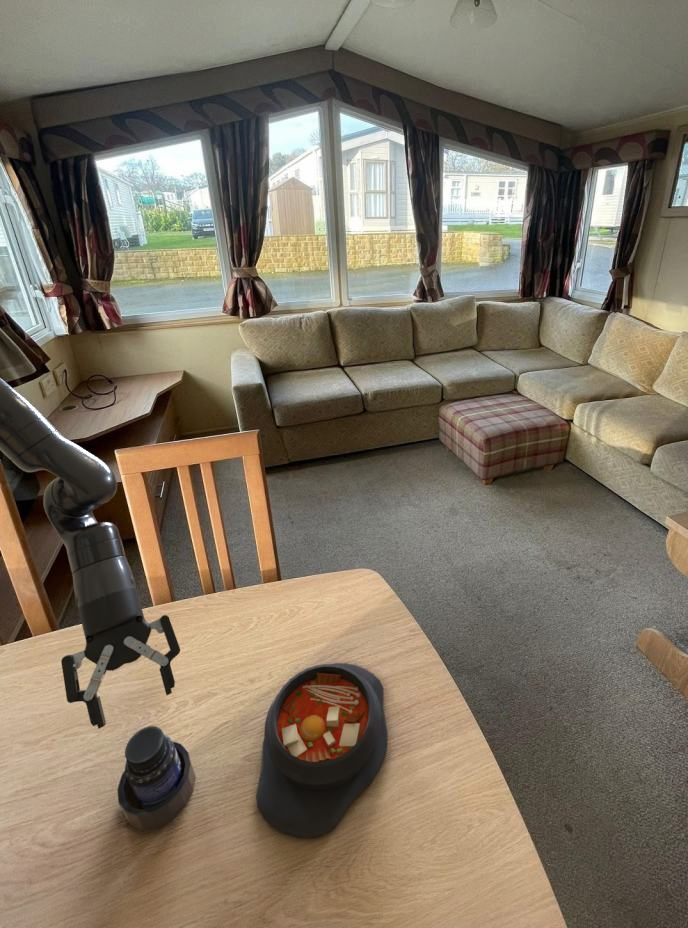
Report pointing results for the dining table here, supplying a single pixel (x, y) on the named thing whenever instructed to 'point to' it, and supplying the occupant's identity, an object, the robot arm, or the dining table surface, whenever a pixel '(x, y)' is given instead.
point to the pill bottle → (152, 766)
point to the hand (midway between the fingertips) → (136, 709)
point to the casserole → (321, 747)
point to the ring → (165, 809)
